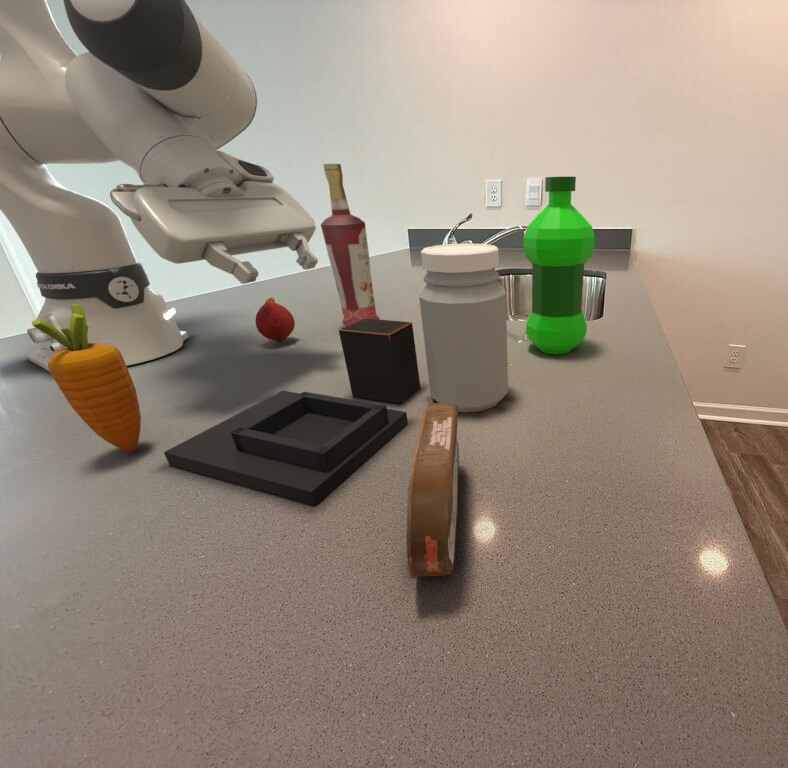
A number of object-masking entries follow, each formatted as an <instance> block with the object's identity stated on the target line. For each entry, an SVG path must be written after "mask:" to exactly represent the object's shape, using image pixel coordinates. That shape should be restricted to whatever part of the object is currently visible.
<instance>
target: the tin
mask: <svg viewBox="0 0 788 768" xmlns="http://www.w3.org/2000/svg"><path fill="white" fill-rule="evenodd" d="M458 419H459V412H458V405H456V404H452V403H438V402H431V401H427V402H426V403H425V405H424V410H423V414H422V418H421V422H420V426H419V427H420V428H419V432H418V436H417V441H416V444H415V449H414V453H413V457H412V462H411V466H410V467H411V468H410V475H409V481H408V494H407V505H406V555H407V556H406V557H407V567H408V572H409V576H410V578H411V579H416V578H417V577H418V578H419V577H439V576H447V575H450V574H452V572H453V570H454V566H455V554H456V540H457V539H456V538H457V528H458V527H457V525H458V509H459V508H458V507H459V476H460V475H459V471H460V470H459V469H460V467H459V466H460V462H459V461H460V453H459V452H460V450H459V442H458Z"/></svg>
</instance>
